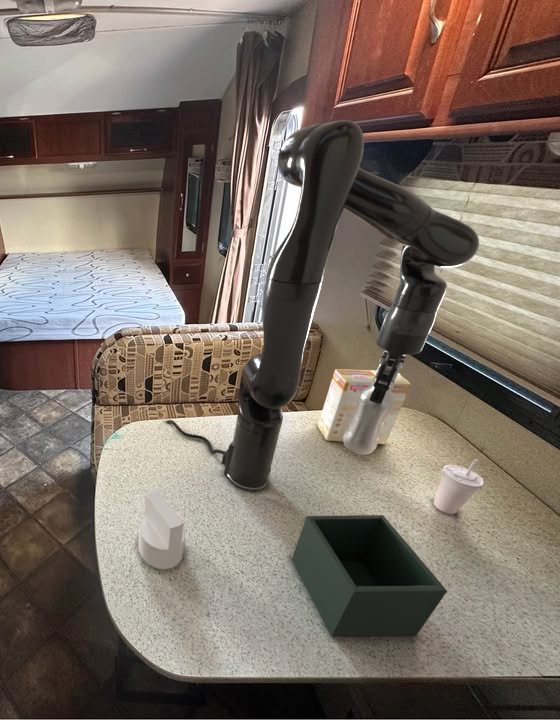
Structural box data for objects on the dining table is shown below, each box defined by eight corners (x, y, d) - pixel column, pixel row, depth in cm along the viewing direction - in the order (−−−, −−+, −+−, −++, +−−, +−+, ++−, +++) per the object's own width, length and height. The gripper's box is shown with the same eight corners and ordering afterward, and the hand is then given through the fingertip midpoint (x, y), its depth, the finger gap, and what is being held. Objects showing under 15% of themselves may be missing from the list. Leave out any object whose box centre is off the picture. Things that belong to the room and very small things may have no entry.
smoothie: (472, 521, 79) (503, 472, 73) (437, 517, 80) (465, 468, 74) (451, 497, 85) (479, 450, 78) (419, 494, 86) (444, 447, 79)
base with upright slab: (130, 539, 79) (131, 499, 73) (165, 523, 82) (169, 484, 76) (154, 576, 71) (157, 535, 66) (192, 558, 74) (198, 517, 69)
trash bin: (331, 636, 61) (354, 591, 55) (291, 559, 73) (306, 515, 67) (415, 636, 61) (447, 591, 55) (361, 558, 73) (383, 514, 67)
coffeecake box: (372, 429, 107) (396, 370, 98) (386, 445, 101) (413, 384, 92) (316, 425, 109) (334, 367, 100) (326, 441, 103) (346, 381, 94)
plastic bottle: (374, 461, 87) (406, 389, 77) (340, 451, 90) (367, 381, 81) (372, 445, 92) (402, 376, 82) (340, 436, 95) (365, 369, 86)
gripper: (425, 343, 69) (393, 416, 77) (433, 321, 78) (403, 388, 86) (376, 333, 74) (351, 403, 81) (389, 313, 83) (364, 378, 91)
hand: (378, 395), depth 84 cm, fingers closed on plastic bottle, 6 cm apart
